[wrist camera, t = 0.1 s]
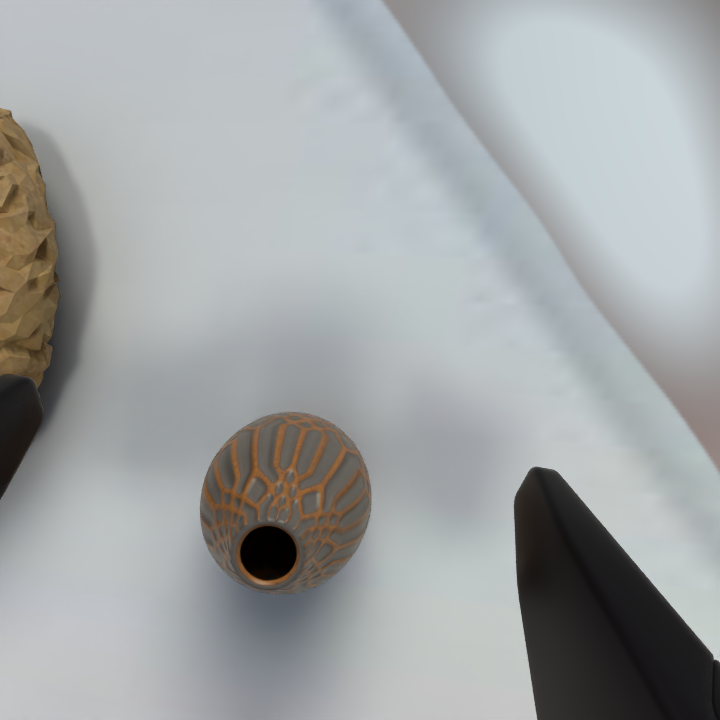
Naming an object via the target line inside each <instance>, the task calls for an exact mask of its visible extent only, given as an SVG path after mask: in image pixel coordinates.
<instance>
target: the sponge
mask: <svg viewBox="0 0 720 720" xmlns="http://www.w3.org/2000/svg"><path fill="white" fill-rule="evenodd" d="M55 237H56V223H55V222H54V220H53V219H52V217H51V215H50V214H49V212H48V208H47V203H46V196H45V183H44V181H43V180H42V176H41V172H40V167H39V163H38V160H37V158H36V155H35V153H34V150H33V146H32V144H31V142H30V140H29V138H28V137H27V135H26V133H25V131H24V130H23V129H22V128H21V127H20V126H19V125H18V124H17V123H16V122H15V121H14V120H13V118H12V113H11V111H10V110H5V109H1V108H0V376H1V375H3V374H16V375H21V376H27V377H30V378H32V379H33V380H34V381H35V383H36V386H37V389H38V387H39V385H40V384H41V382H42V381H43V372H44V370H45V369H47V368H48V367H49V366H50V360H51V355H52V349H53V347H52V346H50V345H49V344H47V342H48V341H49V340H50V339H51V337H52V333H53V329H54V318H55V313H56V310H57V307H58V305H57V302H58V300H59V297H60V294H59V291H58V288H57V285H56V282H59V281H60V279H59V278H58V276H57V274H56V273H55V266H56V262H57V258H58V249H57V244H56V239H55Z"/></svg>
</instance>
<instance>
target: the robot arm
mask: <svg viewBox="0 0 720 720" xmlns="http://www.w3.org/2000/svg"><path fill="white" fill-rule="evenodd" d="M43 419H44V408H43V405H42V402H41V399H40V395H39V392H38V389H37V386H36V383H35V381H34V380H33V379H32V378H30V377H27V376H21V375H16V374H3V375H1V376H0V499H1V497H2V496H3V494H4V492H5V491H6V489H7V487H8V485H9V484H10V482H11V480H12V478H13V476H14V474H15V473H16V471H17V469H18V467H19V465H20V463H21V462H22V460H23V458H24V456H25V454H26V452H27V451H28V449H29V447H30V445H31V443H32V441H33V439H34V438H35V436H36V434H37V432H38V430H39V428H40V427H41V425H42V422H43ZM514 520H515V545H516V571H517V586H518V594H519V602H520V608H521V615H522V622H523V628H524V635H525V641H526V648H527V654H528V661H529V668H530V674H531V681H532V687H533V694H534V701H535V707H536V714H537V720H720V662H719V661H717V660H714V658H713V655H712V653H711V652H710V651H709V650H708V649H707V647H706V646H705V645H704V644H703V643H702V641H701V640H700V639H699V638H698V637H697V636H696V634H695V633H694V632H693V631H692V630H691V628H690V627H689V626H688V625H687V624H686V623H685V621H684V620H683V619H682V618H681V617H680V616H679V614H678V613H677V612H676V611H675V610H674V608H673V607H672V606H671V605H670V604H669V603H668V601H667V600H666V599H665V598H664V597H663V595H662V594H661V593H660V592H659V591H658V590H657V588H656V587H655V586H654V585H653V584H652V583H651V581H650V580H649V579H648V578H647V577H646V575H645V574H644V573H643V572H642V571H641V570H640V568H639V567H638V566H637V565H636V564H635V563H634V561H633V560H632V559H631V558H630V557H629V555H628V554H627V553H626V552H625V551H624V550H623V548H622V547H621V546H620V545H619V544H618V542H617V541H616V540H615V539H614V538H613V537H612V535H611V534H610V533H609V532H608V531H607V530H606V528H605V527H604V526H603V525H602V524H601V522H600V521H599V520H598V519H597V518H596V517H595V515H594V514H593V513H592V512H591V511H590V509H589V508H588V507H587V506H586V505H585V504H584V502H583V501H582V500H581V499H580V498H579V497H578V495H577V494H576V493H575V492H574V491H573V489H572V488H571V487H570V486H569V485H568V484H567V482H566V481H565V480H564V479H563V478H562V476H561V475H560V474H559V473H558V472H556V471H555V470H552V469H547V468H541V467H533V468H531V469H530V471H529V472H528V474H527V476H526V477H525V479H524V481H523V483H522V484H521V486H520V488H519V490H518V491H517V493H516V496H515V500H514Z"/></svg>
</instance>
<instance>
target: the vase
mask: <svg viewBox="0 0 720 720" xmlns="http://www.w3.org/2000/svg"><path fill="white" fill-rule="evenodd" d="M370 511H371V485H370V480H369V475H368V471H367V468H366V465H365V463H364V460H363V458H362V456H361V454H360V452H359V450H358V449H357V447H356V446H355V444H354V443H353V442H352V440H351V439H350V438H349V437H348V436H347V435H346V434H345V433H344V432H343V431H342V430H340V429H339V428H338V427H336V426H335V425H333V424H332V423H330V422H328V421H326V420H324V419H322V418H319V417H317V416H313V415H310V414H305V413H297V412H285V413H277V414H272V415H269V416H265V417H263V418H260V419H258V420H256V421H254V422H252V423H250V424H248V425H247V426H245V427H243V428H242V429H241V430H239V431H238V432H237V433H236V434H234V435H233V436H232V437H231V438H230V439H229V440H228V441H227V442H226V443H225V444H224V445H223V447H222V448H221V449H220V450H219V452H218V453H217V454H216V456H215V458H214V459H213V461H212V463H211V465H210V467H209V469H208V472H207V474H206V477H205V480H204V483H203V487H202V493H201V500H200V519H201V527H202V532H203V536H204V539H205V542H206V544H207V547H208V549H209V551H210V553H211V555H212V556H213V558H214V559H215V561H216V562H217V564H218V565H219V566H220V567H221V568H222V569H223V571H224V572H226V573H227V574H228V575H229V576H230V577H231V578H233V579H234V580H235V581H237V582H238V583H240V584H242V585H244V586H246V587H248V588H250V589H253V590H255V591H259V592H263V593H268V594H293V593H299V592H303V591H306V590H309V589H311V588H314V587H316V586H318V585H320V584H322V583H323V582H325V581H327V580H328V579H330V578H331V577H332V576H334V575H335V574H336V573H337V572H338V571H339V570H340V569H341V568H342V567H343V566H344V565H345V564H346V563H347V562H348V561H349V559H350V558H351V557H352V555H353V554H354V553H355V551H356V549H357V548H358V546H359V544H360V542H361V540H362V538H363V536H364V534H365V531H366V528H367V525H368V521H369V517H370Z"/></svg>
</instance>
